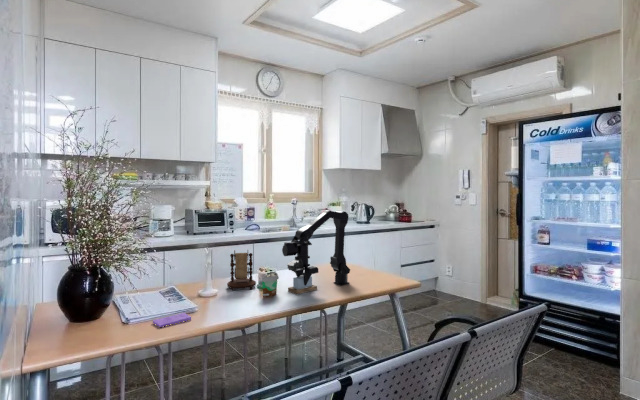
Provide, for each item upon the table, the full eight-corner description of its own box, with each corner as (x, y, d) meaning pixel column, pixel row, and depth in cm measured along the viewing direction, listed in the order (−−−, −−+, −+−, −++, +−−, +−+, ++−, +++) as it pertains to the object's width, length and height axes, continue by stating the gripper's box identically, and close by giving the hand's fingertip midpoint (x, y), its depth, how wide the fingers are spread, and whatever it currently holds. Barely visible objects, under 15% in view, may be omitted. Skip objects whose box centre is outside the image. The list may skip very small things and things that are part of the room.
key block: (293, 287, 189) (293, 276, 188) (307, 284, 194) (307, 273, 194) (298, 289, 186) (298, 277, 185) (312, 286, 191) (311, 274, 191)
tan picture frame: (307, 286, 197) (307, 283, 197) (317, 289, 192) (316, 286, 191) (288, 291, 189) (288, 287, 189) (297, 294, 183) (297, 290, 183)
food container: (274, 298, 176) (273, 278, 175) (261, 298, 177) (261, 277, 177) (281, 291, 188) (281, 271, 188) (270, 290, 189) (270, 271, 189)
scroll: (226, 292, 186) (226, 252, 185) (227, 284, 201) (227, 247, 200) (256, 290, 189) (256, 251, 188) (255, 283, 204) (255, 247, 203)
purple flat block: (191, 321, 148) (191, 316, 148) (159, 329, 140) (159, 324, 140) (184, 316, 153) (184, 312, 153) (152, 324, 145) (152, 319, 145)
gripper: (279, 253, 191) (279, 283, 192) (301, 259, 177) (301, 291, 178) (296, 251, 198) (296, 279, 199) (319, 256, 184) (319, 287, 185)
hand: (302, 284), depth 190 cm, fingers closed on key block, 4 cm apart
